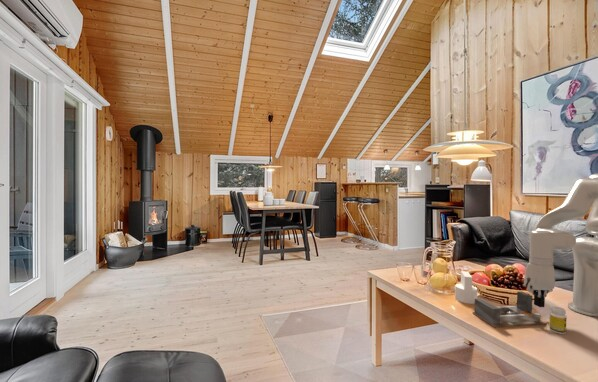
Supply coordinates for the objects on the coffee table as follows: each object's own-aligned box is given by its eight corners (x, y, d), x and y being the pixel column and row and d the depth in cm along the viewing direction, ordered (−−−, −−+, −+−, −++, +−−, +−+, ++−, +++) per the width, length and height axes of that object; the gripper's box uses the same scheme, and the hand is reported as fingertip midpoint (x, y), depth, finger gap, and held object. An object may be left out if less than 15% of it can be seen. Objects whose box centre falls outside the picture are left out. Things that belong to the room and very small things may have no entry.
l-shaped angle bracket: (520, 312, 125) (521, 291, 125) (539, 322, 116) (540, 299, 116) (501, 313, 124) (502, 291, 124) (520, 323, 115) (520, 300, 115)
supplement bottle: (567, 335, 108) (568, 312, 108) (550, 332, 111) (551, 309, 111) (564, 330, 113) (565, 307, 112) (548, 326, 115) (549, 305, 115)
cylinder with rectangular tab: (479, 304, 135) (480, 278, 135) (456, 302, 138) (457, 276, 138) (474, 297, 144) (475, 272, 143) (453, 294, 147) (454, 270, 146)
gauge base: (520, 311, 129) (520, 295, 129) (546, 324, 117) (547, 307, 117) (472, 313, 126) (473, 297, 126) (494, 327, 114) (495, 310, 114)
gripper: (548, 258, 127) (546, 301, 128) (516, 259, 125) (514, 302, 126) (566, 263, 119) (564, 309, 120) (532, 264, 118) (530, 310, 118)
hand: (539, 305), depth 123 cm, fingers closed
